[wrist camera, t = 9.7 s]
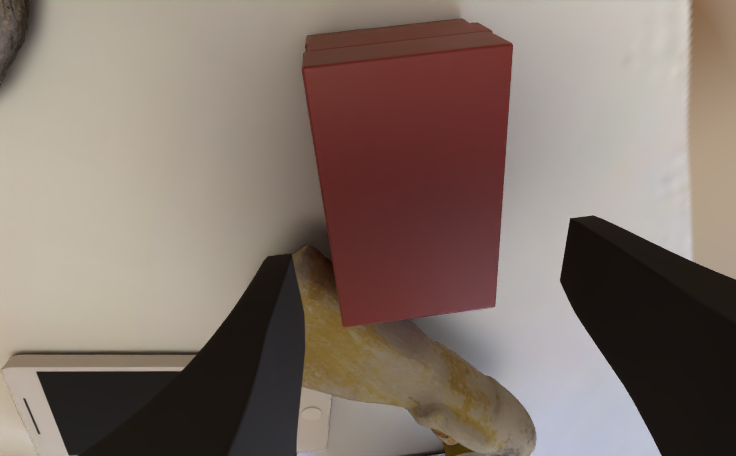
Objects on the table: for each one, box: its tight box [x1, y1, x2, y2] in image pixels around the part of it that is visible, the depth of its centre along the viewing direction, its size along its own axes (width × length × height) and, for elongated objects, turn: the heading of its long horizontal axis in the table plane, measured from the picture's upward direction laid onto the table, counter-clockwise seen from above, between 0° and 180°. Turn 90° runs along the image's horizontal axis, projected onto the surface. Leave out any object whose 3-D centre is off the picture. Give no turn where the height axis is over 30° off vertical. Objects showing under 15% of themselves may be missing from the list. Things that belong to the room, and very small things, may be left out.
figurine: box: [292, 245, 536, 456], centre depth 21 cm, size 5×5×15 cm
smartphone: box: [1, 355, 332, 456], centre depth 25 cm, size 7×16×1 cm, turn 84°
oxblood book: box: [302, 31, 513, 327], centre depth 15 cm, size 9×6×2 cm, turn 5°
